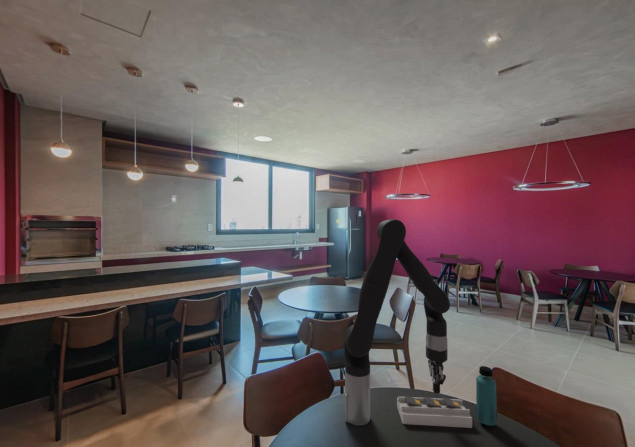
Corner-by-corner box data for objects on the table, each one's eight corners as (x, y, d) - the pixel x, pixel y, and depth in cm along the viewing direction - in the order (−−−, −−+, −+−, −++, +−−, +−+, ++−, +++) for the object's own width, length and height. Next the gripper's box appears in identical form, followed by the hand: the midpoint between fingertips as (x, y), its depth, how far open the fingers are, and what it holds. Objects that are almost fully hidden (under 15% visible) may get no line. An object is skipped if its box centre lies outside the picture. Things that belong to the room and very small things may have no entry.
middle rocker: (427, 405, 104) (427, 403, 104) (423, 398, 109) (424, 395, 109) (441, 410, 104) (442, 407, 104) (437, 402, 108) (437, 400, 108)
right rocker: (446, 406, 104) (447, 403, 104) (442, 399, 108) (443, 396, 108) (461, 411, 103) (461, 408, 103) (456, 403, 108) (456, 401, 108)
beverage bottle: (500, 431, 98) (500, 373, 99) (479, 429, 100) (479, 371, 100) (492, 419, 105) (492, 364, 105) (473, 416, 106) (472, 362, 106)
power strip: (402, 423, 102) (402, 409, 102) (397, 406, 112) (397, 393, 112) (472, 427, 100) (472, 413, 100) (460, 409, 110) (460, 396, 110)
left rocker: (407, 404, 105) (408, 401, 105) (404, 397, 109) (405, 395, 109) (421, 409, 104) (422, 406, 104) (418, 402, 109) (419, 399, 109)
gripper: (421, 338, 113) (421, 382, 113) (431, 352, 100) (431, 402, 100) (440, 339, 113) (440, 383, 112) (453, 353, 100) (453, 403, 99)
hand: (436, 392), depth 106 cm, fingers closed
